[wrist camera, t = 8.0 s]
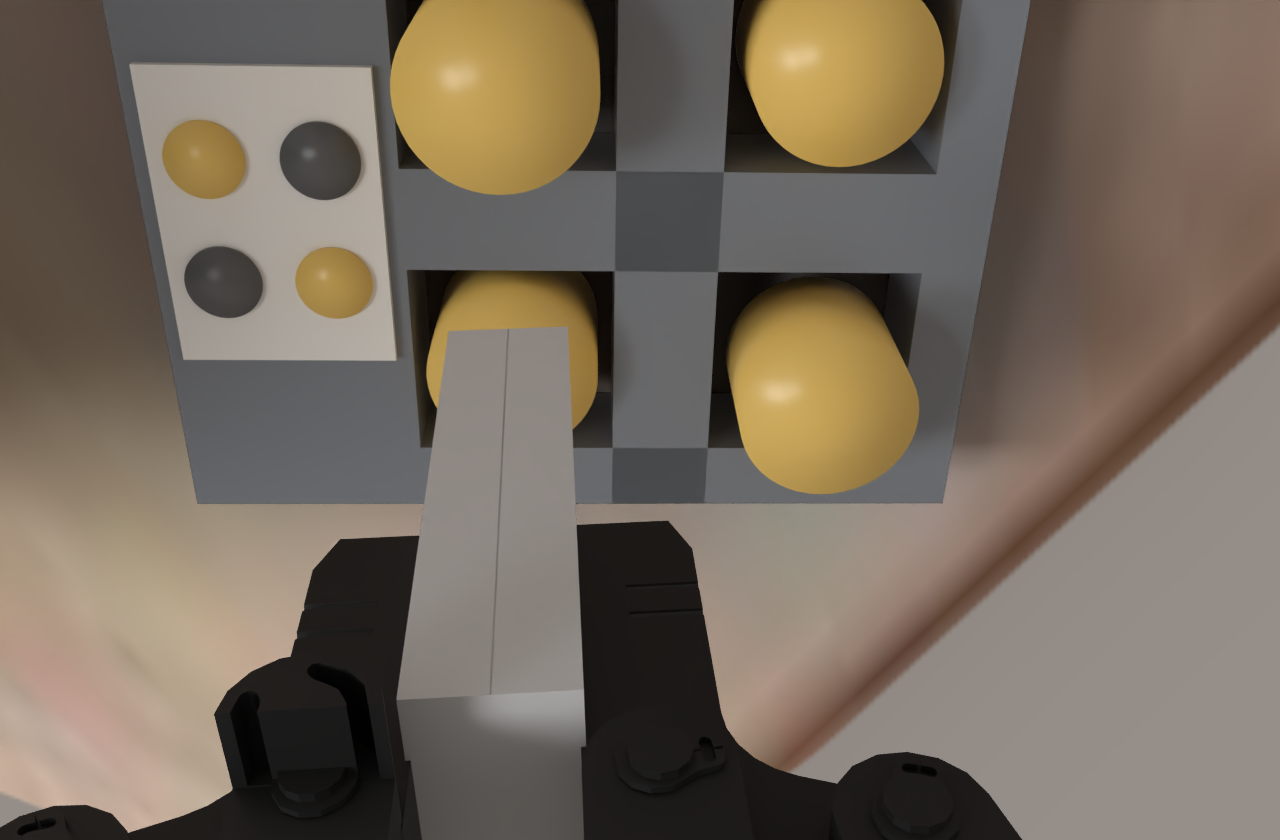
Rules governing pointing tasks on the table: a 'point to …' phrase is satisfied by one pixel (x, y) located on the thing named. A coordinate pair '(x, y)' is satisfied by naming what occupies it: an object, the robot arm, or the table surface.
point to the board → (521, 244)
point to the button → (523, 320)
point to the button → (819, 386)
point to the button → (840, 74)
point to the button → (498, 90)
